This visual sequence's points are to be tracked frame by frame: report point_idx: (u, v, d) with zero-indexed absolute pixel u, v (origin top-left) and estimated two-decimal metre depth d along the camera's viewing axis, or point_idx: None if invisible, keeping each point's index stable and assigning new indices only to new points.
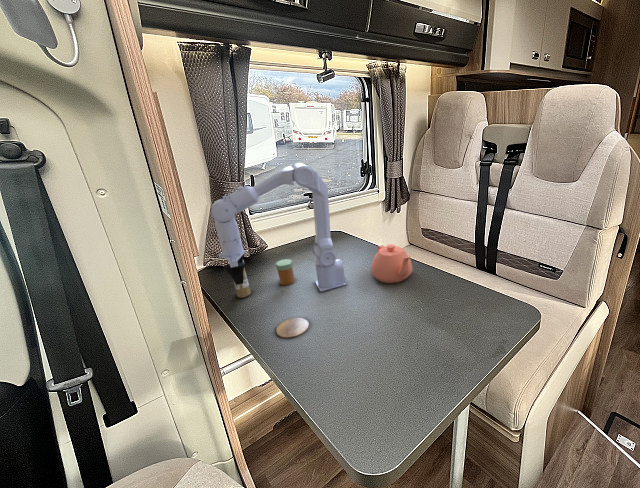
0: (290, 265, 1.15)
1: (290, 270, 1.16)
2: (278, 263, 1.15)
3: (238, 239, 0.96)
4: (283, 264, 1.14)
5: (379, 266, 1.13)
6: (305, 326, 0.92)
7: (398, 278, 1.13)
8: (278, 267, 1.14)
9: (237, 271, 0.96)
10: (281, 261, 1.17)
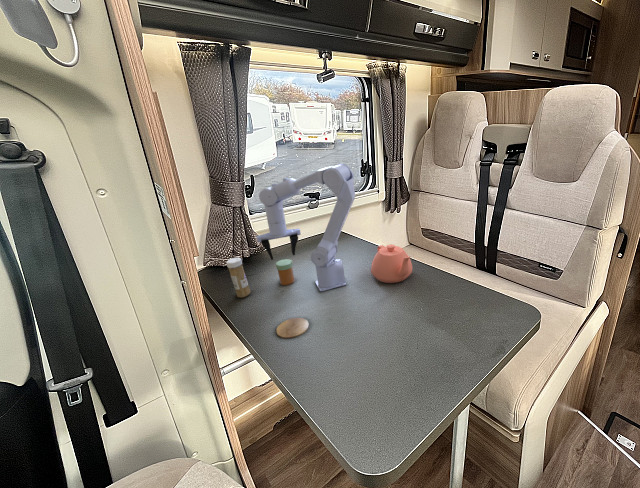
0: (290, 265, 1.15)
1: (290, 270, 1.16)
2: (278, 263, 1.15)
3: (272, 223, 1.08)
4: (283, 264, 1.14)
5: (379, 266, 1.13)
6: (305, 326, 0.92)
7: (398, 278, 1.13)
8: (278, 267, 1.14)
9: None
10: (281, 261, 1.17)
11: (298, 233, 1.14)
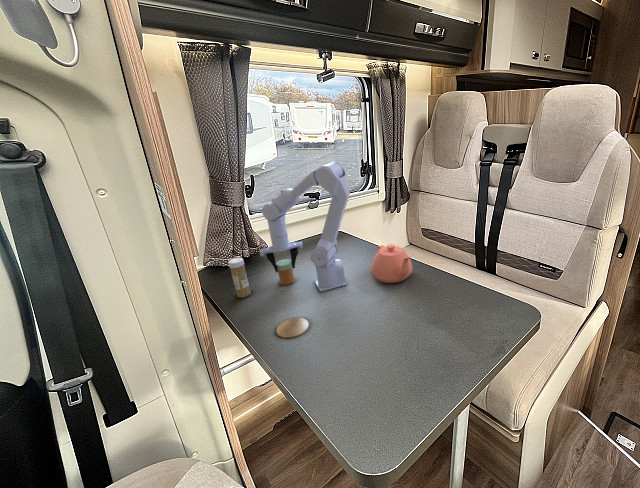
0: (290, 265, 1.15)
1: (290, 270, 1.16)
2: (278, 263, 1.15)
3: (275, 238, 1.09)
4: (283, 264, 1.14)
5: (379, 266, 1.13)
6: (305, 326, 0.92)
7: (398, 278, 1.13)
8: (278, 267, 1.14)
9: None
10: (281, 261, 1.17)
11: (300, 246, 1.16)
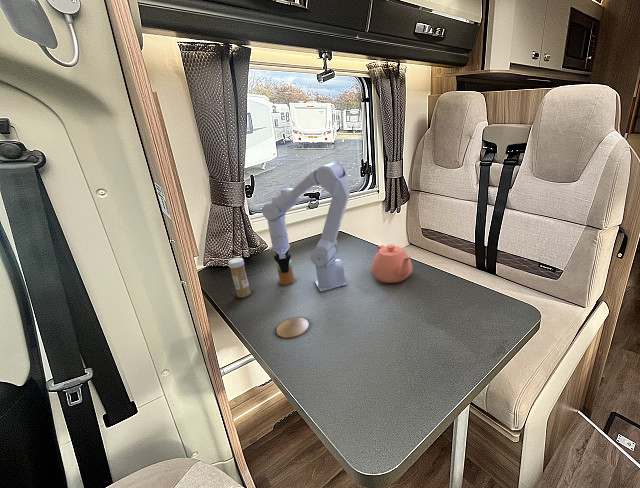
0: None
1: (290, 270, 1.16)
2: None
3: (286, 235, 1.11)
4: None
5: (379, 266, 1.13)
6: (305, 326, 0.92)
7: (398, 278, 1.13)
8: (289, 265, 1.15)
9: (284, 261, 1.12)
10: None
11: None
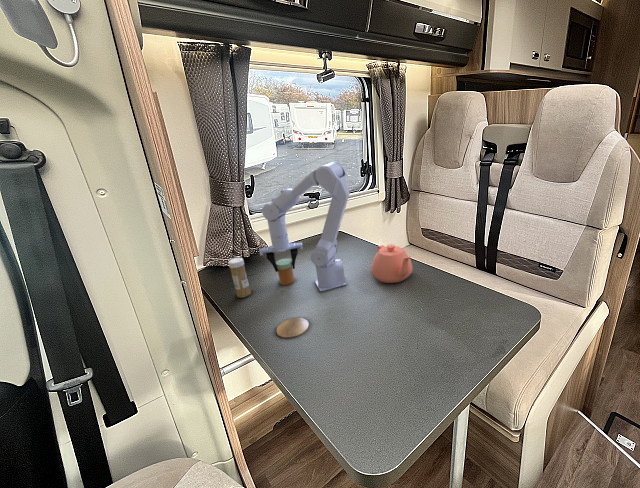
0: None
1: (290, 270, 1.16)
2: (289, 261, 1.16)
3: None
4: (285, 259, 1.17)
5: (379, 266, 1.13)
6: (305, 326, 0.92)
7: (398, 278, 1.13)
8: None
9: None
10: (285, 262, 1.15)
11: None
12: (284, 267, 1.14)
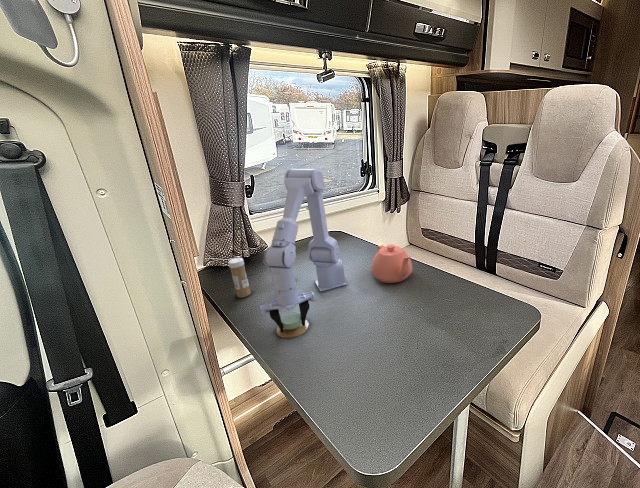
0: None
1: None
2: (298, 316, 0.92)
3: None
4: (291, 314, 0.93)
5: (379, 266, 1.13)
6: (305, 326, 0.92)
7: (398, 278, 1.13)
8: None
9: None
10: (294, 319, 0.90)
11: None
12: (293, 326, 0.89)
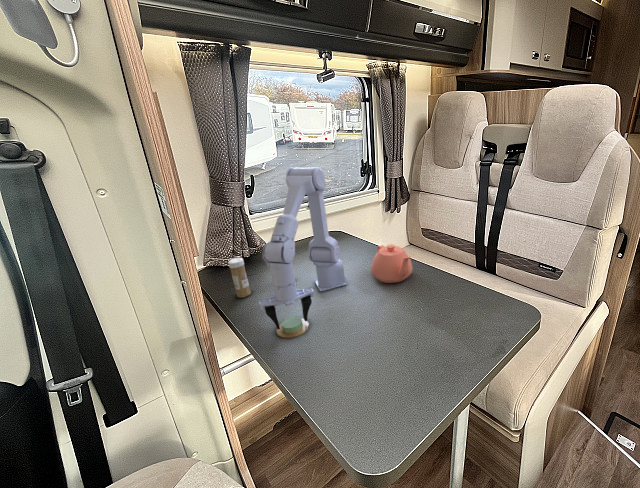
0: None
1: None
2: (298, 320, 0.92)
3: None
4: (292, 318, 0.93)
5: (379, 266, 1.13)
6: (305, 326, 0.92)
7: (398, 278, 1.13)
8: None
9: None
10: (294, 323, 0.91)
11: None
12: (293, 330, 0.90)
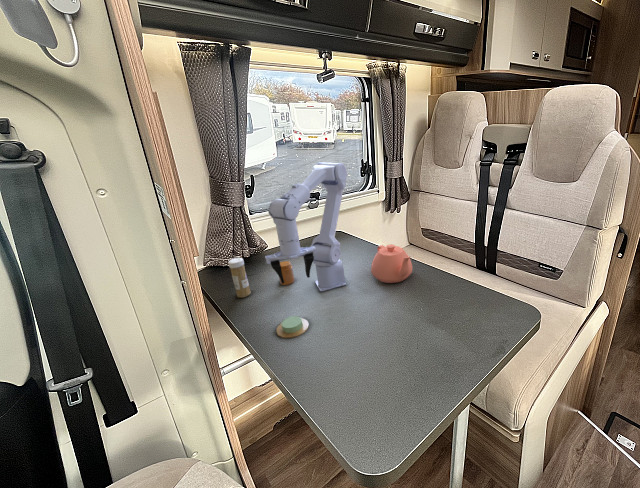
0: None
1: (290, 270, 1.16)
2: (298, 320, 0.92)
3: None
4: (292, 318, 0.93)
5: (379, 266, 1.13)
6: (305, 326, 0.92)
7: (398, 278, 1.13)
8: None
9: None
10: (294, 323, 0.91)
11: None
12: (293, 330, 0.90)
